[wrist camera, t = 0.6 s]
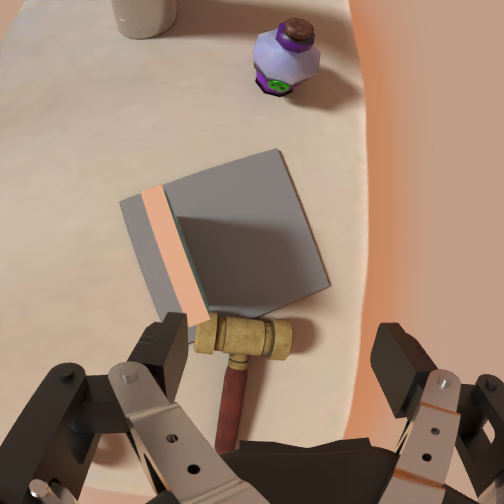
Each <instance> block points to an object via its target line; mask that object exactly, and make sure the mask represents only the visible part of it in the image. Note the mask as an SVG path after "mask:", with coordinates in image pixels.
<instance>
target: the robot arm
mask: <svg viewBox="0 0 504 504" xmlns="http://www.w3.org/2000/svg"><path fill="white" fill-rule="evenodd" d="M111 3H112V6H113V10H114V14H115V18H116V22H117V26H118V29H119V31H120V33H122V34H123V35H124V36H126V37H129V38H134V39H142V38H149V37H153V36H156V35H158V34H160V33H162V32H164V31H166V30H167V29H169V28H170V27H171V26H172V25H173V23H174V22H175V19H176V0H111ZM187 357H188V322H187V314H186V313H179V312H168V313H167V314H166V316H165V318H164V320H163V322H162V323H160V322H154V323H152V324H151V325H150V326H148V327H147V328H146V329H145V331H144V332H143V334H142V337H140V339H139V341H138V343H137V344H136V346H135V348H134V350H133V351H132V353H131V355H130V357H129V358H128V360H127V362H123V363H119V364H117V365H115V366H114V367H112V368H111V369H110V371H109V373H108V375H92V376H86V373H85V370H84V369H83V367H82V366H80V365H78V364H75V363H62V364H59V365H57V366H55V367H53V368H52V369H51V370H50V371H49V373H48V374H47V376H46V377H45V378H44V380H43V381H42V383H41V384H40V386H39V387H38V388H37V390H36V391H35V393H34V394H33V396H32V397H31V399H30V400H29V402H28V403H27V405H26V406H25V408H24V409H23V411H22V412H21V414H20V416H19V417H18V419H17V420H16V422H15V423H14V425H13V427H12V428H11V430H10V431H9V433H8V435H7V436H6V438H5V440H4V441H3V443H2V445H1V446H0V504H79V503H78V502H77V501H78V499H79V496H80V493H81V490H82V487H83V484H84V481H85V478H86V476H87V473H88V470H89V467H90V464H91V462H92V459H93V456H94V454H95V451H96V448H97V446H98V443H99V440H100V438H101V435H102V433H124V434H125V436H126V438H127V440H128V442H129V444H130V446H131V448H132V450H133V452H134V453H135V455H136V457H137V459H138V461H139V463H140V465H141V466H142V468H143V470H144V472H145V474H146V476H147V479H148V481H149V483H150V485H151V487H152V488H153V490H154V492H155V493H156V495H157V496H156V497H155V498H153V499H152V500H150V501H149V502H147V503H146V504H504V383H503V382H502V381H501V380H500V379H499V378H497V377H495V376H493V375H489V374H483V375H481V376H479V377H478V379H477V381H476V383H475V385H470V384H461V382H460V379H459V378H458V377H457V376H456V375H455V374H454V373H452V372H449V371H447V370H442V369H438V368H437V367H436V365H435V364H434V363H433V361H432V360H431V358H430V357H429V356H428V355H427V353H426V352H425V350H424V349H423V348H422V347H421V345H420V344H419V342H418V341H417V340H416V339H415V338H414V337H412V336H411V335H409V334H408V333H406V332H405V331H404V330H403V329H402V327H401V326H400V325H399V323H381V324H380V325H379V327H378V331H377V334H376V338H375V341H374V345H373V348H372V352H371V357H370V358H371V359H370V362H371V367H372V369H373V371H374V373H375V375H376V377H377V380H378V382H379V383H380V386H381V388H382V390H383V392H384V394H385V396H386V399H387V401H388V403H389V405H390V407H391V410H392V412H393V414H394V416H395V418H403V417H407V419H408V420H407V422H406V424H405V426H404V428H403V431H402V433H401V435H400V437H399V440H398V442H397V444H396V446H395V448H394V450H393V452H392V451H390V450H387V449H384V448H380V447H374V446H371V444H370V441H369V438H358V439H348V440H338V441H334V442H331V443H327V444H323V445H319V446H315V447H311V448H303V447H297V446H292V445H287V444H281V443H277V442H262V441H241V440H240V445H239V449H238V450H232V451H228V452H224V453H221V454H218V453H217V452H216V451H215V450H214V449H213V447H212V446H211V445H210V444H209V443H208V441H207V440H206V439H205V438H204V436H203V435H202V434H201V433H200V431H199V430H198V429H197V427H196V426H195V425H194V423H193V422H192V421H191V420H190V418H189V417H188V416H187V414H186V413H185V412H184V410H183V409H182V407H181V406H180V405H179V404H178V403H177V402H174V400H175V396H176V393H177V390H178V387H179V383H180V380H181V377H182V374H183V371H184V367H185V364H186V361H187ZM488 420H489V422H490V423H491V425H492V427H493V428H494V431H495V438H494V441H493V442H492V444H491V443H490V441H489V439H488V437H487V436H486V434H485V432H484V430H483V427H484V425H485V424H486V422H487V421H488ZM454 445H455V447H456V449H457V451H458V453H459V456H460V458H461V460H462V462H463V464H464V467H465V469H466V471H467V474H468V476H469V478H470V480H471V483H472V485H473V488H474V490H475V493H476V495H477V498H478V501H477V502H476V501H474V500H472V499H471V498H469V497H467V496H465V495H463V494H462V493H460V492H458V491H457V490H455V489H453V488H452V487H450V486H448V485H446V484H445V483H444V482H445V479H446V475H447V472H448V469H449V465H450V461H451V458H452V454H453V449H454Z"/></svg>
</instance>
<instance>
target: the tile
mask: <svg viewBox="0 0 504 504" xmlns="http://www.w3.org/2000/svg"><path fill="white" fill-rule="evenodd" d="M141 196H142V199H143V202H144V205H145V208H146V211H147V215H148V218H149V221H150V224H151V227H152V230H153V233H154V236H155V238H156V241H157V244H158V247H159V250H160V253H161V256H162V258H163V261H164V264H165V267H166V269H167V272H168V275H169V278H170V280H171V283H172V286H173V288H174V291H175V293H176V296H177V299H178V301H179V304H180V306H181V309H182V311H183V313H186V314H187V322H188V326H189V327H191V326H194V325H197V324H199V323H202V322H205V321H207V320H210V314H209V313H210V309H209V305H208V301H207V296H206V294H205V291H204V288H203V286H202V283H201V281H200V278H199V275H198V273H197V270H196V267H195V265H194V262H193V259H192V256H191V254H190V251H189V248H188V245H187V243H186V240H185V237H184V234H183V232H182V229H181V226H180V223H179V220H178V217H177V215H176V213H175V211H174V208H173V206H172V204H171V201H170V199H169V196H168V194H167V192H166V190H164V189H163V186H162V184H160V185H157V186H155V187H152V188H149V189H147V190H144V191H142V192H141Z"/></svg>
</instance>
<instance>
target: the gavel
mask: <svg viewBox="0 0 504 504" xmlns="http://www.w3.org/2000/svg"><path fill="white" fill-rule="evenodd" d="M209 314H210V320H207V321H205V322H202V323H199V324H197V325H196V331H195V341H194V351H195V352H196V353H204V354H213V350H216V351H222V353H230V354H229V357H230V358H229V362H228V366H227V369H226V372H225V377H224V384H223V391H222V398H221V405H220V412H219V419H218V426H217V433H216V440H215V450H216V452H217V453H218V454H221V453H224V452H228V451H232V450H235V445H236V439H237V434H238V428H239V423H240V417H241V411H242V406H243V400H244V394H245V388H246V382H247V365H248V360H249V355H253V356H260V355H265V356H266V358H267V359H268V360H285V359H286V358H287V357H288V356H289V354H290V351H291V347H292V340H293V332H292V326H291V324H290V322H289V321H288V320H281V319H270V321H269V322H263V321H262V320H253V319H244V318H236V317H227V316H226V317H225V318H223V317H217V312H211V311H210V313H209Z"/></svg>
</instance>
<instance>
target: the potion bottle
mask: <svg viewBox="0 0 504 504" xmlns="http://www.w3.org/2000/svg"><path fill="white" fill-rule="evenodd" d="M313 31H314V28H313V26H312V25H311V24H310V23H309V22H307V21H305V20H303V19H298V18H291V19H288V20H287V21H286V22H284V23H281V24H280V25H279V28H278V29H275V30H271V31H268V32H265V33H262V34H259V35H258V37H257V41H256V44H255V47H254V51H253V59H254V68H255V69H256V71H257V77H256V81H255V82H256V83H257V84H258V86H259V87H260V88H261V90H262V91H263V92H264V93H266V94H270V95H274V96H277V97H281V96H284V95H286V94H288V93H290V92H292V90H293V89H294V88H295V87H296V86H297V85H299V84H300V83H301V82H304V81H306V80H308V79H309V78H310V77H311V76H313V75H314V74H315V73H317V72H318V69H319V61H320V54H321V53H320V52H319V50H318V49H317V48H316V47H315V46H314V45H313V43H314V37H315V34H314V33H313Z"/></svg>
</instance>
